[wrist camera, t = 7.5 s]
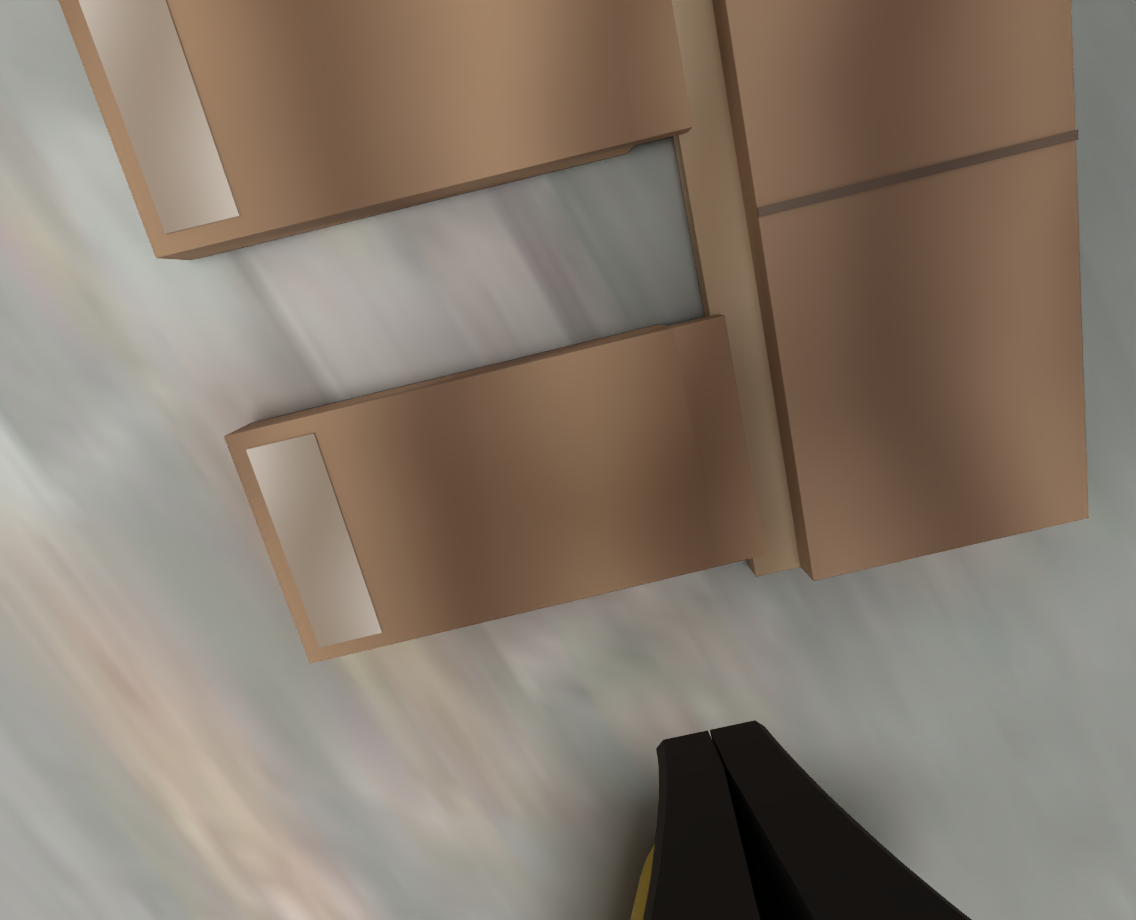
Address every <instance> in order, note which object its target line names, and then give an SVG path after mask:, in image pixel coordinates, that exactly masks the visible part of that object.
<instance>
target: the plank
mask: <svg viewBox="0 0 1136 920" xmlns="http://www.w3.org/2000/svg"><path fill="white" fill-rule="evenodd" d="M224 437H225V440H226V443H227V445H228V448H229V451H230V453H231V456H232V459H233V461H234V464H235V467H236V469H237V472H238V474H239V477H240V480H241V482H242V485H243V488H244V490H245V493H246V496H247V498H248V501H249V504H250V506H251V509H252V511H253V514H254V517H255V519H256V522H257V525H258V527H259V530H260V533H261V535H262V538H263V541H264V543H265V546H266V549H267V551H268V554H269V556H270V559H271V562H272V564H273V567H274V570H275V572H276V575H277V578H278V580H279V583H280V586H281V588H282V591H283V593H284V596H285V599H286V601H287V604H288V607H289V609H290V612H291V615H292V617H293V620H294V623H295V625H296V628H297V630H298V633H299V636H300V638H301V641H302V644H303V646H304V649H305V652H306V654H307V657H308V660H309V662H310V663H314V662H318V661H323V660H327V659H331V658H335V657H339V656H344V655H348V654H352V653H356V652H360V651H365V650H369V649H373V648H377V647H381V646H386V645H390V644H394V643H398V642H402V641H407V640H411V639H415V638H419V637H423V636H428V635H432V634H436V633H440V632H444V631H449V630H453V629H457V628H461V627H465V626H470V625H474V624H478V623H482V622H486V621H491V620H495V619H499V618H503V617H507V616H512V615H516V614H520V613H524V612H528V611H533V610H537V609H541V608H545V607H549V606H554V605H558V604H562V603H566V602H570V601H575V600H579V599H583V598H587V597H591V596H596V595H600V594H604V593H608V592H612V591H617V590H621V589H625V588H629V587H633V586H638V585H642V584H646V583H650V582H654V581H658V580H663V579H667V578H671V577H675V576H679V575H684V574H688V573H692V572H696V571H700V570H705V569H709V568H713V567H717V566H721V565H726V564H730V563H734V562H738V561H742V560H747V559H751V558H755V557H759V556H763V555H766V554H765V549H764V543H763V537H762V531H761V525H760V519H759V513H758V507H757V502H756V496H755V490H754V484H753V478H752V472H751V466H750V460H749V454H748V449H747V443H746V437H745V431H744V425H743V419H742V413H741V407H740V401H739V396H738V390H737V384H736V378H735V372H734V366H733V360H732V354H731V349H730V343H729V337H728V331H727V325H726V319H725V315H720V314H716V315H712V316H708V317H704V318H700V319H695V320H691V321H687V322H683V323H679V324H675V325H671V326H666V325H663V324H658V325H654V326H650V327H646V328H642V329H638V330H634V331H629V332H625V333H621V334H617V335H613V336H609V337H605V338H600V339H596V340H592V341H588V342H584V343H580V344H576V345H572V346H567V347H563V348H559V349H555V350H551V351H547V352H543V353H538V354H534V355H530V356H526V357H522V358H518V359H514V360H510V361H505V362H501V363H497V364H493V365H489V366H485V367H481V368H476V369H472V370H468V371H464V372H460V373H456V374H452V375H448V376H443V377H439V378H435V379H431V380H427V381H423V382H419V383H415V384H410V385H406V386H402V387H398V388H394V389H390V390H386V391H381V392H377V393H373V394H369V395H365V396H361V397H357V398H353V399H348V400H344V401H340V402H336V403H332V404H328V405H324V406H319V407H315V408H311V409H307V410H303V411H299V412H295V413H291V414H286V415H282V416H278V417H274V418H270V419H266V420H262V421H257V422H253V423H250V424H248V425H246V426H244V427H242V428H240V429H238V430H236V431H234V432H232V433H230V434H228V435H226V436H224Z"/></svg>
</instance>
